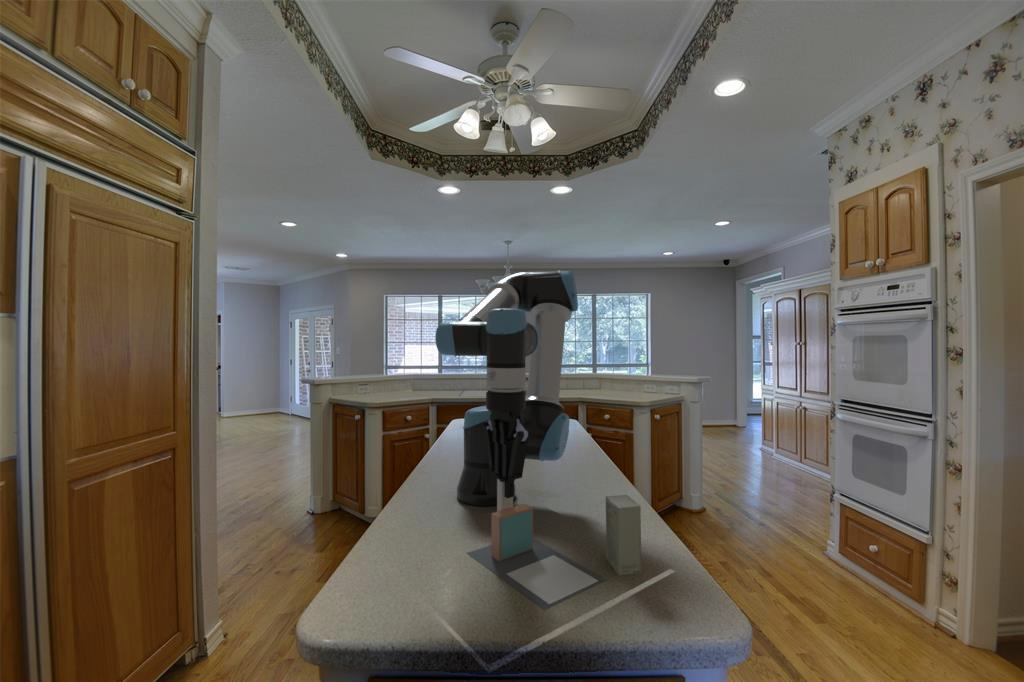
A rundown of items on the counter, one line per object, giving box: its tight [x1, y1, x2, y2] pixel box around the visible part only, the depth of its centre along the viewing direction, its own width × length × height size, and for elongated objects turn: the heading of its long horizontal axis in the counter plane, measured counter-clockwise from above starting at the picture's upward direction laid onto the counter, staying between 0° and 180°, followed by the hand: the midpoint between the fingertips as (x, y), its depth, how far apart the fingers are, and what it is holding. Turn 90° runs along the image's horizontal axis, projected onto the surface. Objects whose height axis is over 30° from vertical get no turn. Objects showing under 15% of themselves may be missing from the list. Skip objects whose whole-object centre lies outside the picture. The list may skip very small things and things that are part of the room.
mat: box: [466, 538, 608, 611], centre depth 81 cm, size 22×14×1 cm, turn 37°
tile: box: [490, 503, 534, 561], centre depth 85 cm, size 3×8×8 cm, turn 127°
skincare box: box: [605, 494, 643, 576], centre depth 81 cm, size 6×4×12 cm
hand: (505, 512), depth 87 cm, fingers closed
